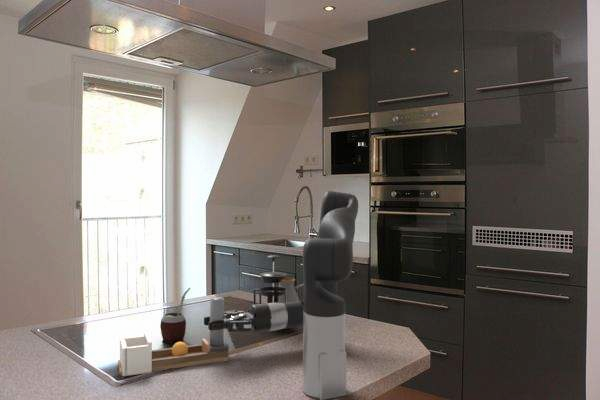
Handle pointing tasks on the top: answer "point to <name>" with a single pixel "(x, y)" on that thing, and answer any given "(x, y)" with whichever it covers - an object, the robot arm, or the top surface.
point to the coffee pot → (289, 290)
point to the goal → (136, 355)
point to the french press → (273, 278)
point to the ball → (179, 349)
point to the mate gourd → (173, 326)
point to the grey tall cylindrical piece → (216, 335)
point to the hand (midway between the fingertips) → (206, 323)
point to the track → (183, 358)
